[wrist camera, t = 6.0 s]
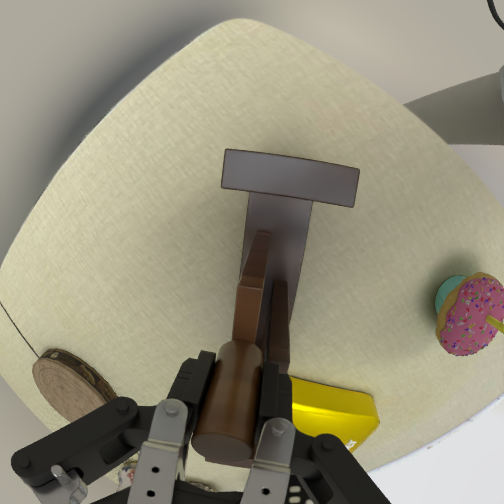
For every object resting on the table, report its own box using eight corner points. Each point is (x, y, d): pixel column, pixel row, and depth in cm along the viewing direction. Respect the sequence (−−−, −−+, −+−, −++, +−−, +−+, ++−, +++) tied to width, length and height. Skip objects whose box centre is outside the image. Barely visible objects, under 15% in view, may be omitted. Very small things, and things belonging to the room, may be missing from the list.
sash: (248, 229, 23) (187, 368, 8) (278, 234, 23) (271, 382, 7) (237, 320, 26) (193, 482, 10) (264, 324, 26) (242, 491, 10)
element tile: (323, 455, 34) (325, 480, 30) (228, 436, 34) (222, 462, 30) (379, 394, 30) (388, 422, 25) (264, 368, 29) (262, 399, 25)
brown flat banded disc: (138, 429, 36) (131, 442, 34) (70, 414, 39) (63, 424, 36) (93, 352, 32) (82, 365, 29) (28, 344, 34) (18, 354, 31)
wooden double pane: (255, 154, 23) (224, 148, 10) (316, 163, 22) (360, 168, 10) (232, 354, 29) (204, 461, 16) (279, 361, 29) (273, 471, 16)
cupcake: (422, 266, 24) (490, 332, 13) (484, 251, 23) (557, 299, 12) (417, 338, 27) (462, 415, 15) (476, 319, 25) (529, 380, 14)
